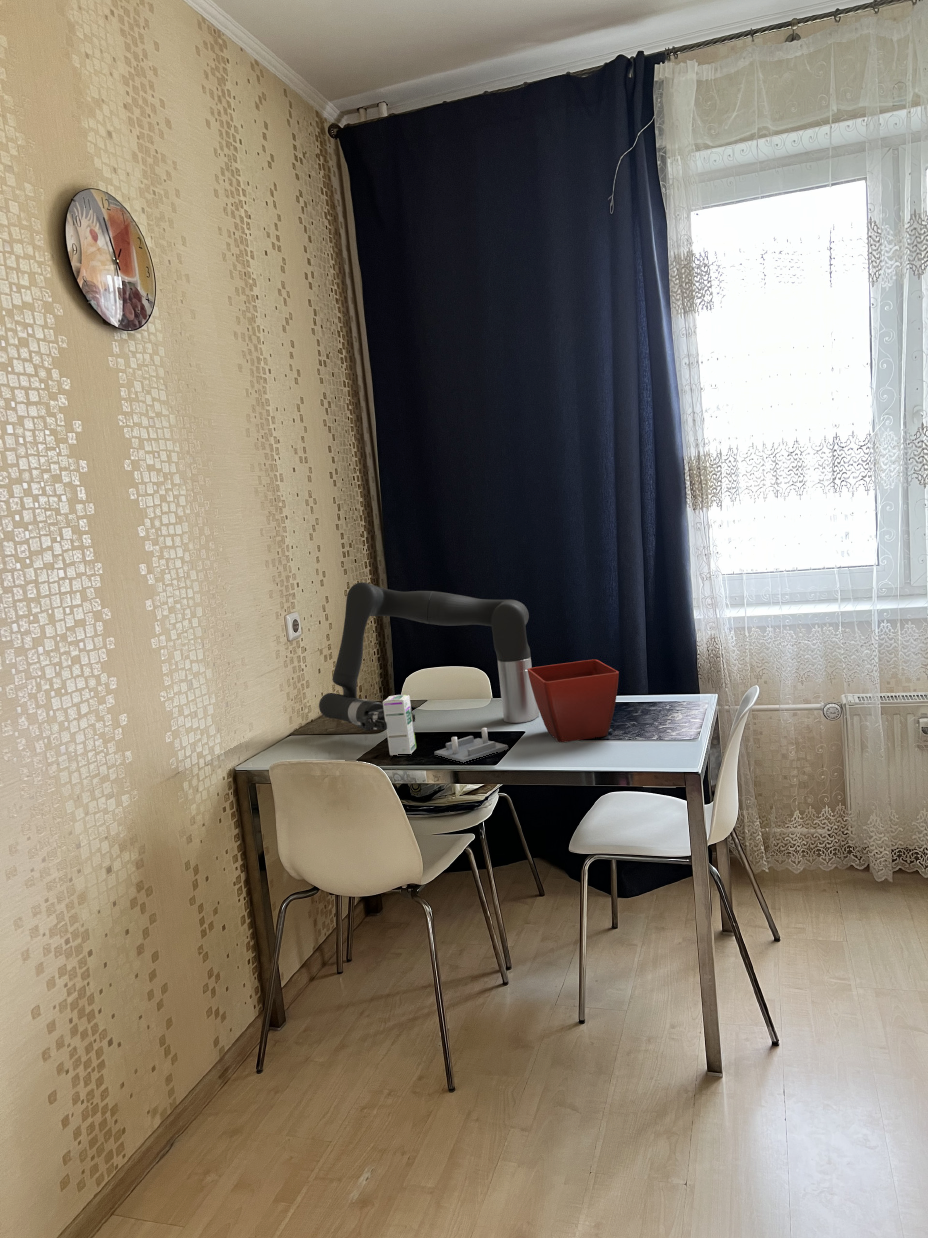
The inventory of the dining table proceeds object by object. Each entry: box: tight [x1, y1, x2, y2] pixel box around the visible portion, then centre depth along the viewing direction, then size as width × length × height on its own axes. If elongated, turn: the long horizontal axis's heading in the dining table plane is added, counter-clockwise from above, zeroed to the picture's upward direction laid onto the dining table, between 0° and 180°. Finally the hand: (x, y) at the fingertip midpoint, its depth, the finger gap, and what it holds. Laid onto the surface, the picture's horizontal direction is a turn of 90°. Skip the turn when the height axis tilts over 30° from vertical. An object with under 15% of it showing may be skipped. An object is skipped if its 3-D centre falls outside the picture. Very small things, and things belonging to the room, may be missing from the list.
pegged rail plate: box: [434, 727, 509, 763], centre depth 226 cm, size 14×12×5 cm
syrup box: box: [382, 694, 417, 756], centre depth 232 cm, size 6×6×14 cm
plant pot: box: [527, 659, 620, 743], centre depth 231 cm, size 19×19×17 cm
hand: (399, 722), depth 232 cm, fingers open, 8 cm apart
